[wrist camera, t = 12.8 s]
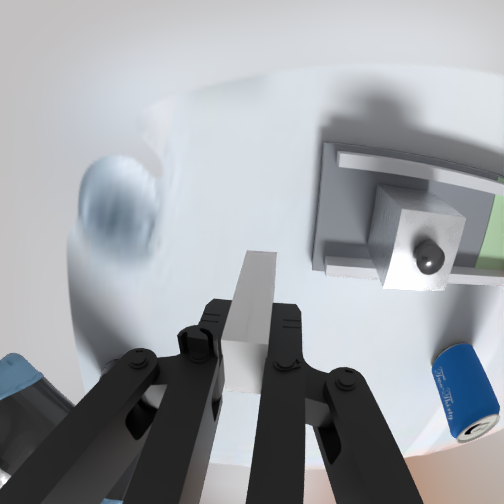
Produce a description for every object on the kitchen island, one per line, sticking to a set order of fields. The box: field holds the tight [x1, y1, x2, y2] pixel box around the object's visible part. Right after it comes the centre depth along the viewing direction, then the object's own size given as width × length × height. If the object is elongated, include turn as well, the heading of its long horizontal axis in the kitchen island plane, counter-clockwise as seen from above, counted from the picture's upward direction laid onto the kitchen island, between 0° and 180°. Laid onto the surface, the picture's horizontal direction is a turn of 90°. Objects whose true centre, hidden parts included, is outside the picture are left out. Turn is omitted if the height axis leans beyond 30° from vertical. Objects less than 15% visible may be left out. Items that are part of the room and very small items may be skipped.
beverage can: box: [432, 343, 500, 443], centre depth 25 cm, size 6×6×12 cm
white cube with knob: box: [367, 184, 466, 291], centre depth 19 cm, size 5×6×7 cm
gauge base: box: [312, 141, 504, 286], centre depth 19 cm, size 28×11×8 cm, turn 89°
